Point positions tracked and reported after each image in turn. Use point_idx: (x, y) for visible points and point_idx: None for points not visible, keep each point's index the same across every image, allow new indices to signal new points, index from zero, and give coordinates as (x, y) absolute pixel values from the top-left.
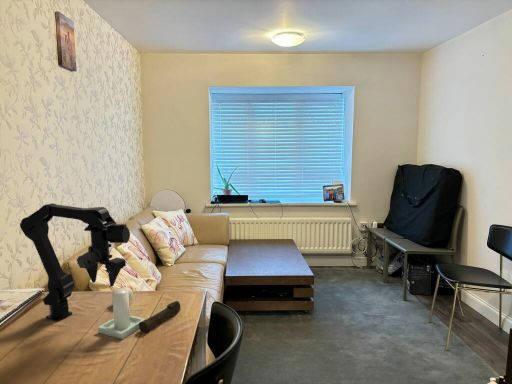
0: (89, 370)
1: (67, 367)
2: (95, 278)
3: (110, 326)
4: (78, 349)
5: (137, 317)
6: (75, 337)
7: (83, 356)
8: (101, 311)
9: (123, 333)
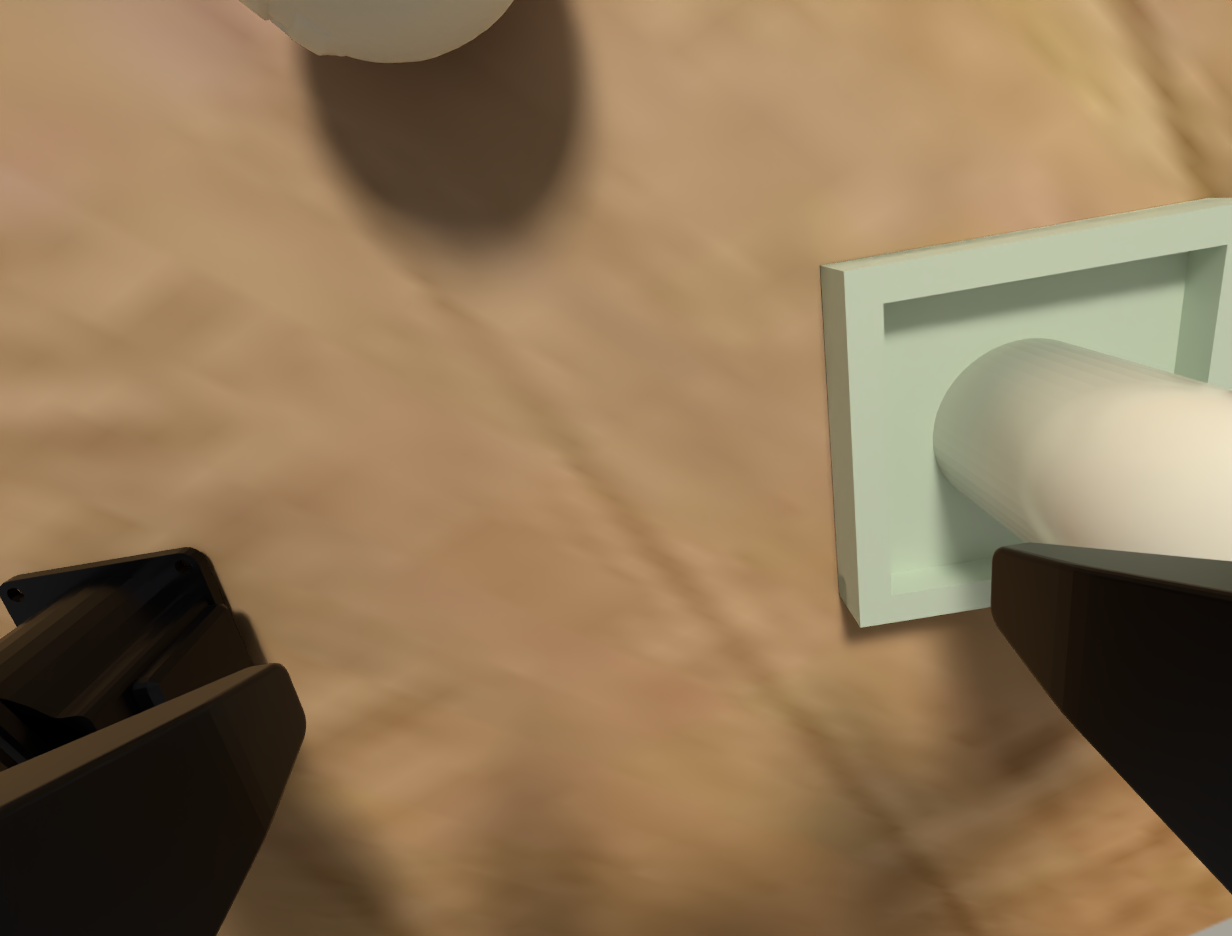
0: None
1: (1047, 911)
2: (236, 727)
3: (898, 498)
4: (924, 796)
5: (1128, 233)
6: (729, 735)
7: (1042, 815)
8: (397, 309)
9: None
